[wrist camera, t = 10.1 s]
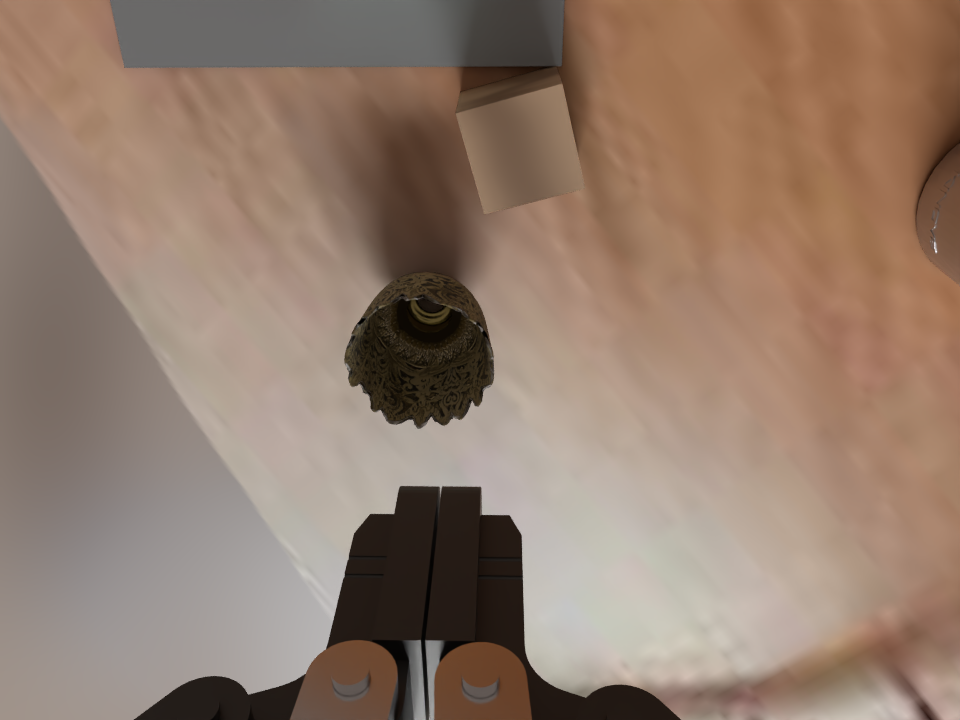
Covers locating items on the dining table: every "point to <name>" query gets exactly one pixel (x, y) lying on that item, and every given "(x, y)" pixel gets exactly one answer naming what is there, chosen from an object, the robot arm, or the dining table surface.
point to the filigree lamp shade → (421, 351)
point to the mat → (339, 33)
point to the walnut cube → (519, 140)
